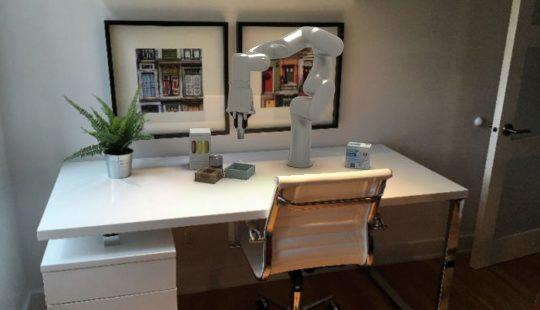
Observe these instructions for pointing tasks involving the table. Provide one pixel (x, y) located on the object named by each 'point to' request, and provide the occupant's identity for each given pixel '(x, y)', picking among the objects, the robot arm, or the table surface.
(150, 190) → the table surface
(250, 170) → the tray
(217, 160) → the grey cylinder
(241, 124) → the pin
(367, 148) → the light bulb box
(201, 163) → the supplement box
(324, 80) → the robot arm
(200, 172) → the brown square open box
